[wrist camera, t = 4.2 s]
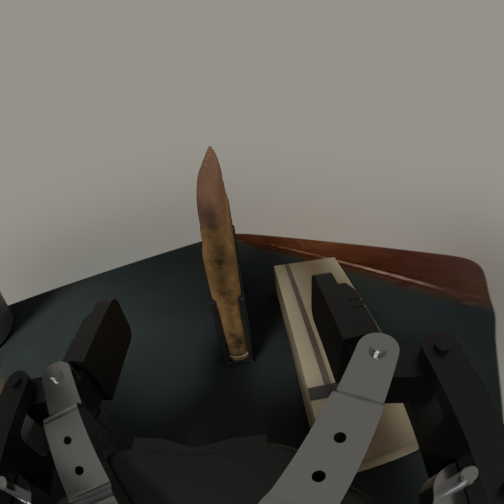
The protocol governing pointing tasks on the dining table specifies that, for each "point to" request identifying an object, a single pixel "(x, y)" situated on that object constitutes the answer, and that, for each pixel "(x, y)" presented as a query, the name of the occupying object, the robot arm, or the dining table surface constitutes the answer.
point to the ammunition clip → (222, 264)
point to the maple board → (317, 366)
